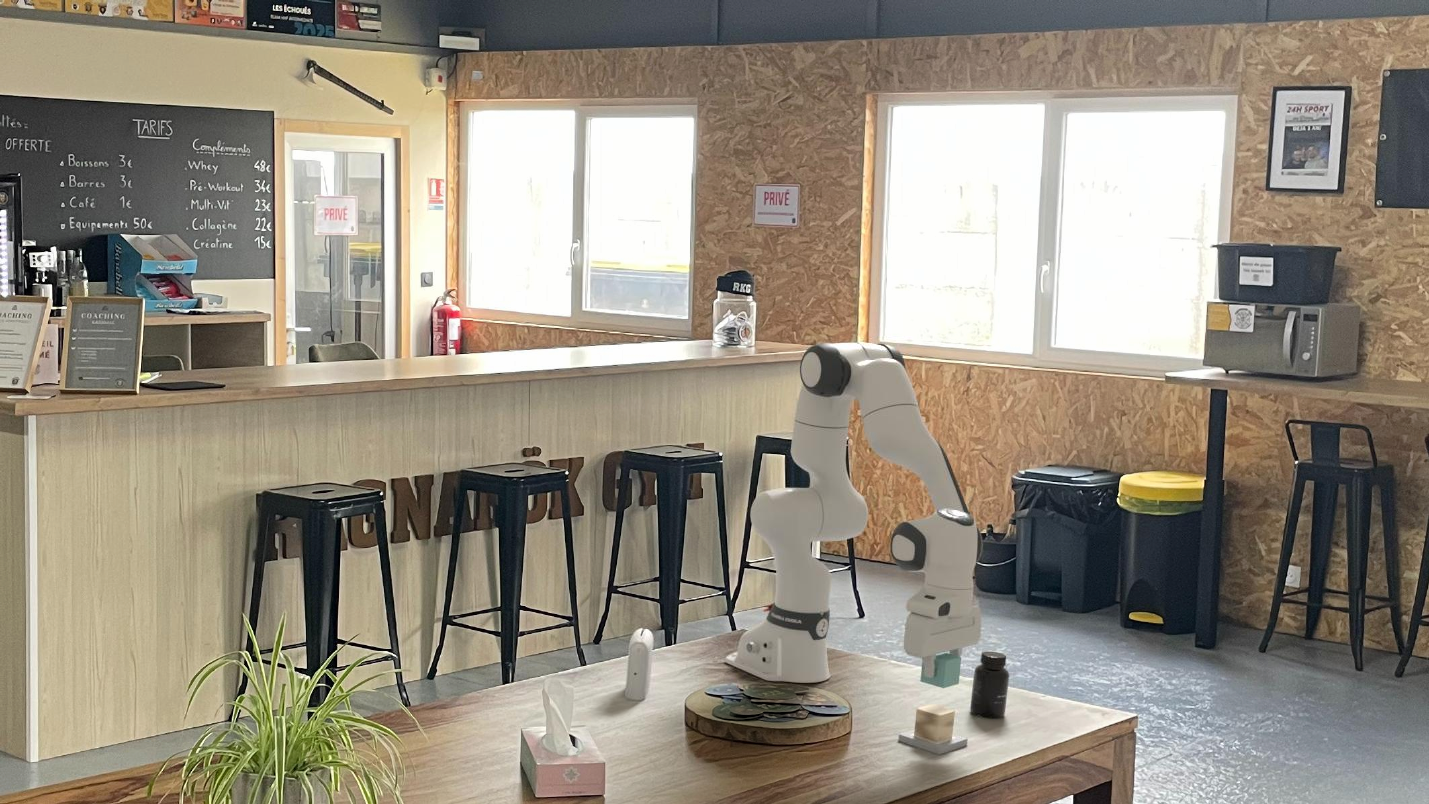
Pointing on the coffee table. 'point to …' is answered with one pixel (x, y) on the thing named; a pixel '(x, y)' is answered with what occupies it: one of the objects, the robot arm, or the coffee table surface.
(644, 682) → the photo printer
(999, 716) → the supplement bottle
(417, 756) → the coffee table surface
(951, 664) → the teal cube
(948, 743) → the plate
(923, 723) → the maple cube
